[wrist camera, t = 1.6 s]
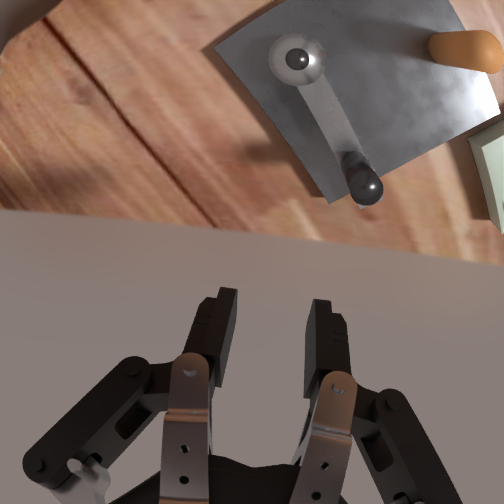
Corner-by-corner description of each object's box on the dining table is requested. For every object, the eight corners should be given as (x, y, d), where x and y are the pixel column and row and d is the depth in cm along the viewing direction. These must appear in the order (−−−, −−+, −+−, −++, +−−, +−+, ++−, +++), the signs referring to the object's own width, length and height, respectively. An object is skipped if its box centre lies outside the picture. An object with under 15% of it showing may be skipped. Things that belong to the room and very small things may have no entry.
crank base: (217, 48, 23) (213, 48, 22) (404, -49, 14) (409, -54, 13) (327, 197, 30) (329, 204, 29) (492, 109, 21) (500, 112, 20)
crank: (260, 50, 21) (248, 46, 16) (306, 26, 20) (311, 14, 14) (348, 205, 29) (359, 247, 23) (389, 188, 27) (411, 225, 21)
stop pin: (421, 39, 18) (462, 37, 12) (447, 28, 17) (491, 25, 11) (438, 70, 20) (481, 79, 14) (463, 59, 18) (509, 66, 12)
